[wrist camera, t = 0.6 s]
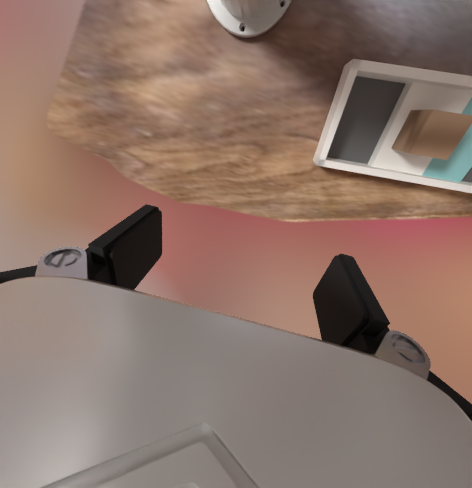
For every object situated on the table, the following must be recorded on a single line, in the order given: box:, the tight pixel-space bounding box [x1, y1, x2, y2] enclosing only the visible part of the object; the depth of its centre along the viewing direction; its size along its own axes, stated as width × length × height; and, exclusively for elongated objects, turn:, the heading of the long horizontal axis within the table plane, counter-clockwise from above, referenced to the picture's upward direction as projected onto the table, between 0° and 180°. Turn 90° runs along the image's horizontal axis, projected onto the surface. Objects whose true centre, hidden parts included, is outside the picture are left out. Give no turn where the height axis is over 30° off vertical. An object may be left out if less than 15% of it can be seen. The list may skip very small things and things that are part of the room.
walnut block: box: [392, 110, 472, 160], centre depth 28 cm, size 5×5×5 cm
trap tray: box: [313, 59, 472, 193], centre depth 30 cm, size 13×30×4 cm, turn 82°
